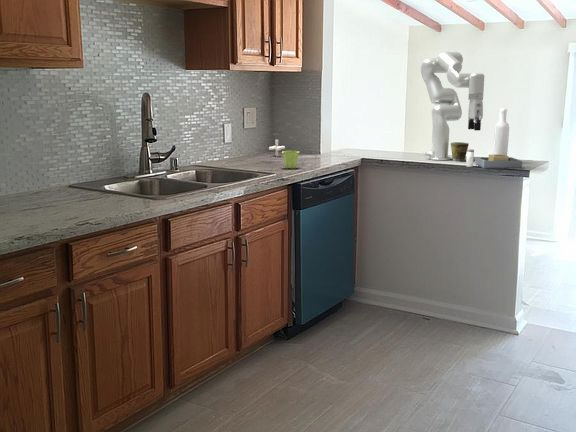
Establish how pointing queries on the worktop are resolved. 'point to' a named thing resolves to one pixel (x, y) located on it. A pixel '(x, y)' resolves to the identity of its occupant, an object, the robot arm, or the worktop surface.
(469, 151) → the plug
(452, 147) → the ceramic cup
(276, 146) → the pipe connector
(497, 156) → the box
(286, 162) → the plant pot
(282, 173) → the worktop surface
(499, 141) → the bottle
